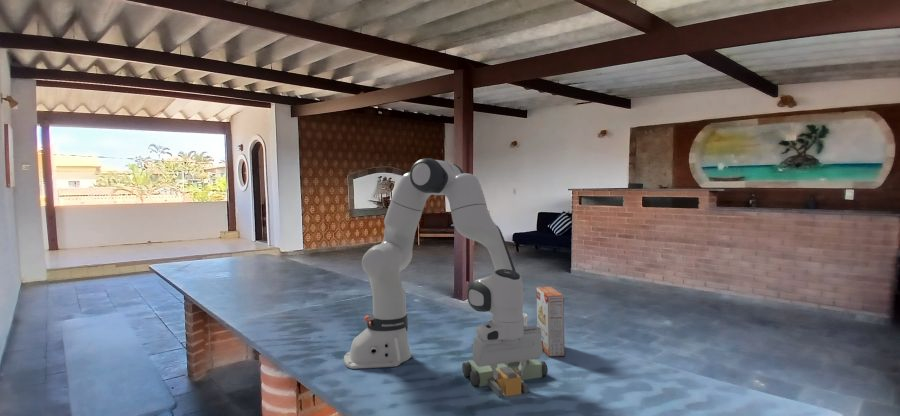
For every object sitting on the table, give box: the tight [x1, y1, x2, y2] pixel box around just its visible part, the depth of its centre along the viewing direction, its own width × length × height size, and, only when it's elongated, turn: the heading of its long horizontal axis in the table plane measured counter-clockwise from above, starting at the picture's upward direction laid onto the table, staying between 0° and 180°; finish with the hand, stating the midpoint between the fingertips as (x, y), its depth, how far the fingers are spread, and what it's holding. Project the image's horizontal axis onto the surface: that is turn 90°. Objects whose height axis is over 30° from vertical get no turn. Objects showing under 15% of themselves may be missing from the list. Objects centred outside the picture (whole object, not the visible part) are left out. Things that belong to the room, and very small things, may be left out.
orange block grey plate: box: [496, 367, 522, 397], centre depth 130 cm, size 4×7×6 cm, turn 17°
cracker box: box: [536, 286, 566, 358], centre depth 161 cm, size 14×6×21 cm, turn 5°
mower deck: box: [461, 359, 549, 398], centre depth 136 cm, size 23×18×8 cm
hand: (508, 377), depth 130 cm, fingers open, 5 cm apart
